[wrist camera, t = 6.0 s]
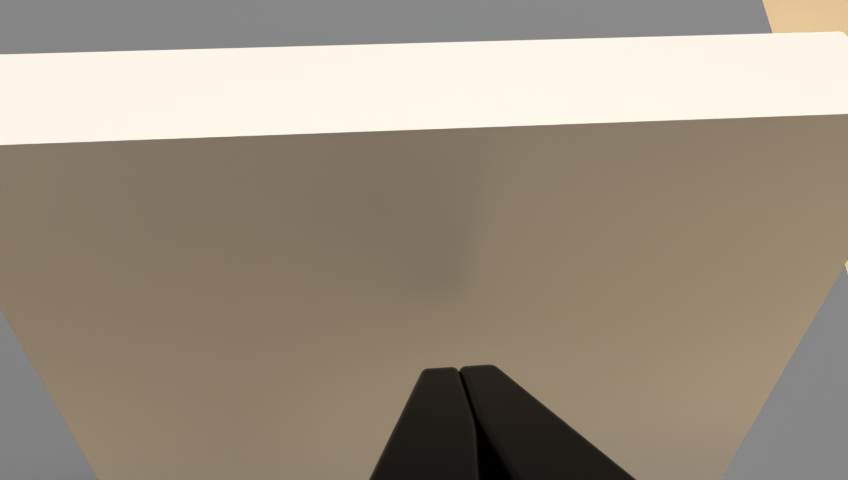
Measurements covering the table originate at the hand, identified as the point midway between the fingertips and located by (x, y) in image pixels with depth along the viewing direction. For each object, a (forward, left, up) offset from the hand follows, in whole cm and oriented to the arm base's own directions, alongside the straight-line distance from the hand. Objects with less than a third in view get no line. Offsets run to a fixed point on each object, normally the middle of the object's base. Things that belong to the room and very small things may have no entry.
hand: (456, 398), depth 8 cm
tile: (-1, +1, -6) cm, 6 cm away
